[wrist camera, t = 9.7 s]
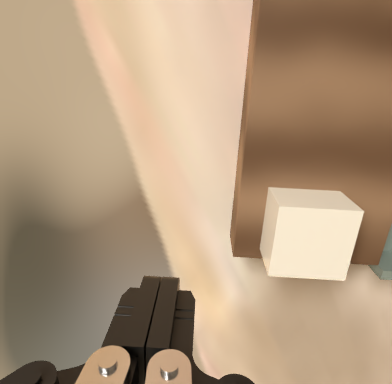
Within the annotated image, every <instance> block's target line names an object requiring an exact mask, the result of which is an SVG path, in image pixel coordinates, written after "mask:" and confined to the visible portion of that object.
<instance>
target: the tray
mask: <svg viewBox="0 0 392 384" xmlns="http://www.w3.org/2000/svg"><path fill="white" fill-rule="evenodd" d="M368 266H369V267H370V268H371V269H372V270H373V271H374V273H375V274H376V275H377V276H378V277H379V278H380V279H383V280H392V224H391V227H390V230H389V233H388V236H387V240H386V243H385V246H384V249H383V252H382V255H381V258H380V262H379V265H368Z"/></svg>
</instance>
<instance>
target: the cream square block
mask: <svg viewBox="0 0 392 384" xmlns="http://www.w3.org/2000/svg"><path fill="white" fill-rule="evenodd" d="M363 214H364V211H363V210H362V209H361V208H360V207H359V206H357V205H356V204H355V203H354V202H353V201H351V200H350V199H349V198H348V197H347V196H346V195H344V194H343V193H342V192H341V191H328V190H310V189H292V188H274V187H268V194H267V201H266V208H265V215H264V222H263V229H262V236H261V243H260V251H261V255H262V258H263V261H264V264H265V268H266V271H267V274H268V276H274V277H290V278H306V279H323V280H339V281H345V279H346V275H347V272H348V268H349V264H350V261H351V257H352V254H353V250H354V246H355V243H356V239H357V235H358V232H359V228H360V225H361V221H362V217H363Z"/></svg>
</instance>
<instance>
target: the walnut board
mask: <svg viewBox="0 0 392 384" xmlns="http://www.w3.org/2000/svg"><path fill="white" fill-rule="evenodd" d="M268 187H274V188H292V189H310V190H328V191H341V192H342V193H343V194H344V195H346V196H347V197H348V198H349V199H350V200H351V201H353V202H354V203H355V204H356V205H357V206H359V207H360V208H361V209H362V210H363V211H364V214H363V217H362V221H361V225H360V228H359V232H358V235H357V239H356V243H355V246H354V250H353V254H352V257H351V261H350V264H366V265H379V262H380V258H381V255H382V252H383V249H384V246H385V243H386V240H387V236H388V233H389V230H390V227H391V224H392V0H253V9H252V19H251V29H250V39H249V49H248V59H247V69H246V80H245V90H244V100H243V110H242V120H241V130H240V140H239V150H238V160H237V171H236V181H235V191H234V201H233V211H232V221H231V231H230V238H231V245H232V252H233V257H249V258H262V255H261V251H260V243H261V236H262V229H263V222H264V215H265V208H266V201H267V194H268Z"/></svg>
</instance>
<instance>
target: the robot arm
mask: <svg viewBox="0 0 392 384" xmlns="http://www.w3.org/2000/svg"><path fill="white" fill-rule="evenodd" d="M179 283H180V279H179V278H174V277H155V276H144V277H143V280H142V283H141V286H140V288H129V289H128V290H127V291H126V292H125V293H124V294H123V295H122V297H121V299H120V302H119V304H118V307H117V309H116V312H115V316H114V317H113V319H112V322H111V324H110V327H109V329H108V332H107V334H106V337H105V339H104V342H103V344H102V347H101V348H100V349H98V350H97V351H95V352H94V353H93V354H92V355H91V356H90V357H89V358H88V360H87V362H86V363H85V364H83V365H80V366H77V367H74V368H70V369H66V370H61V371H57V370H56V368H55V366H54V365H53V364H52V363H50V362H47V361H35V362H31V363H28V364H26V365H24V366H22V367H21V368H19V369H18V370H16V371H14V372H13V373H11V374H10V375H8V376H6V377H5V378H3V379H2V380H0V384H254V383H253V382H252V381H251V380H250V379H249V378H247V377H245V376H243V375H239V374H228V375H225V376H224V377H222V378H221V379H219V380H218V379H216V378H213V377H211V376H209V375H207V374H205V373H203V372H202V371H201V370H200V369H199V368H198V367H197V366H196V364H195V362H194V360H193V356H192V351H193V333H194V314H195V299H194V297H193V295H192V293H191V291H182V290H179Z"/></svg>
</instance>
